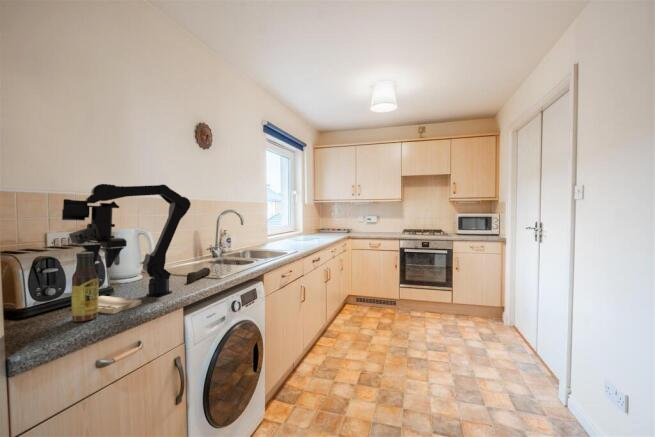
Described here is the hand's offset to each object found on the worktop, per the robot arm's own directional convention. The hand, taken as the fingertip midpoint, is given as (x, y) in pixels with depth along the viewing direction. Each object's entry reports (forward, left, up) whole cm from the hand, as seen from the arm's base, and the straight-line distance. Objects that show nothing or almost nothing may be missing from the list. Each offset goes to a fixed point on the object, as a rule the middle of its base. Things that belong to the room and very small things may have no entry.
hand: (100, 266), depth 101 cm
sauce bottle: (+11, +9, -13) cm, 20 cm away
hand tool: (-41, +6, -14) cm, 43 cm away
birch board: (+1, +4, -13) cm, 14 cm away
